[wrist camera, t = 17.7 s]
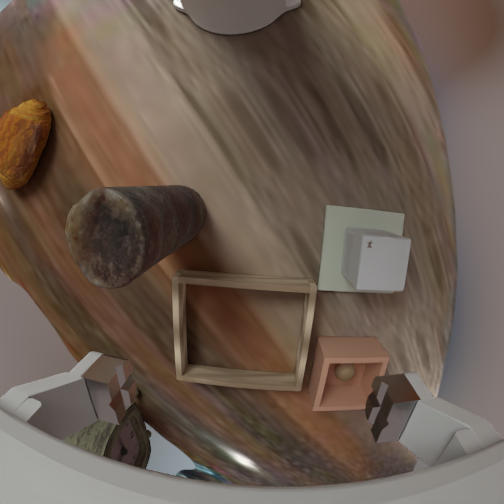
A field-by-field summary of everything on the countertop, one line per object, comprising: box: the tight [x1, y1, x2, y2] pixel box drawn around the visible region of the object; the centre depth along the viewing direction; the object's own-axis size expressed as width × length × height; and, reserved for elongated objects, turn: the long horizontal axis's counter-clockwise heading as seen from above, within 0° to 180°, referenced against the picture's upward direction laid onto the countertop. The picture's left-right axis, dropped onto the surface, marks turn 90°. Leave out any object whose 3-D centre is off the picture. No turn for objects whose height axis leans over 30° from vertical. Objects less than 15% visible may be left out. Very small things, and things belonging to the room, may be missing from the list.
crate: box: [172, 269, 317, 391], centre depth 38 cm, size 16×18×4 cm
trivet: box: [317, 205, 405, 293], centre depth 36 cm, size 11×11×1 cm
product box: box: [341, 227, 411, 291], centre depth 33 cm, size 6×6×7 cm
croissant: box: [0, 99, 52, 190], centre depth 33 cm, size 14×16×8 cm
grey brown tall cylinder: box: [65, 185, 205, 289], centre depth 27 cm, size 8×7×20 cm
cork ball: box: [334, 363, 356, 382], centre depth 38 cm, size 3×3×3 cm
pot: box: [308, 336, 390, 411], centre depth 37 cm, size 9×9×6 cm
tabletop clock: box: [63, 389, 151, 469], centre depth 32 cm, size 14×9×25 cm, turn 1°
